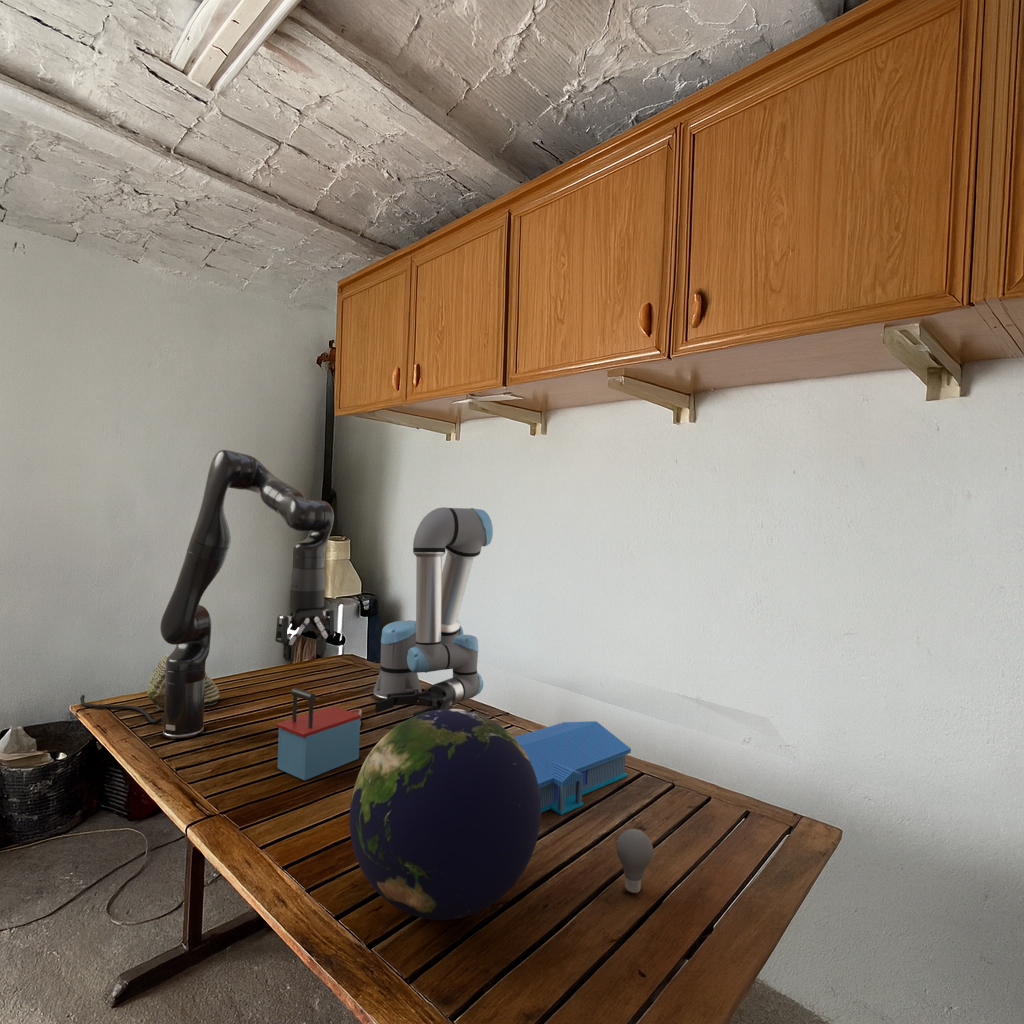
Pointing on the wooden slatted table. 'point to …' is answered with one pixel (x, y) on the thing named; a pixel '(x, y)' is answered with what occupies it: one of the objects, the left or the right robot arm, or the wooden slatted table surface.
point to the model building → (573, 762)
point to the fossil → (158, 687)
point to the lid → (314, 717)
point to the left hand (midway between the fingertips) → (304, 657)
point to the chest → (318, 750)
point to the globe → (445, 814)
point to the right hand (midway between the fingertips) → (394, 713)
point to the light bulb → (634, 857)
